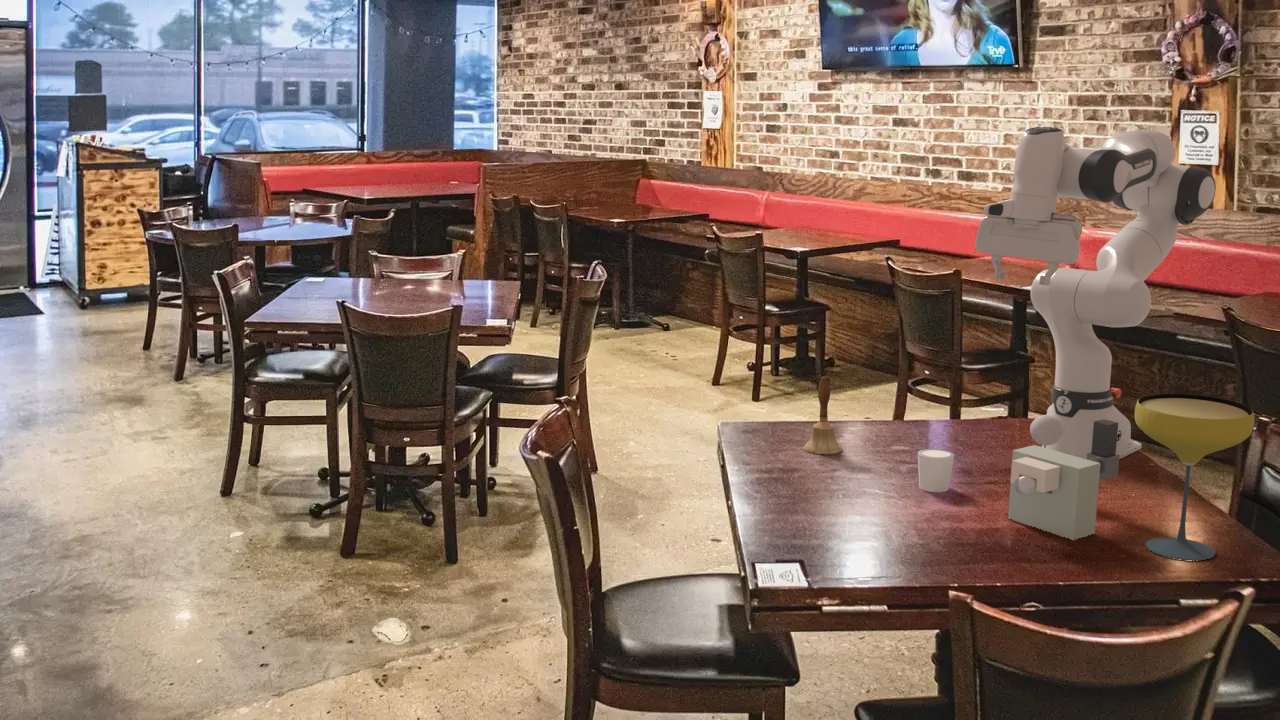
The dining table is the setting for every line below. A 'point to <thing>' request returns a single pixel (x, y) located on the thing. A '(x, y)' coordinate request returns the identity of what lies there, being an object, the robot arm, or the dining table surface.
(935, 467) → the white cup
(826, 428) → the hand bell
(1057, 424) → the lollipop
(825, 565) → the dining table surface
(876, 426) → the dining table surface
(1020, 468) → the block
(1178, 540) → the cocktail glass
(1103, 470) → the hammer
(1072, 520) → the grey slotted block
